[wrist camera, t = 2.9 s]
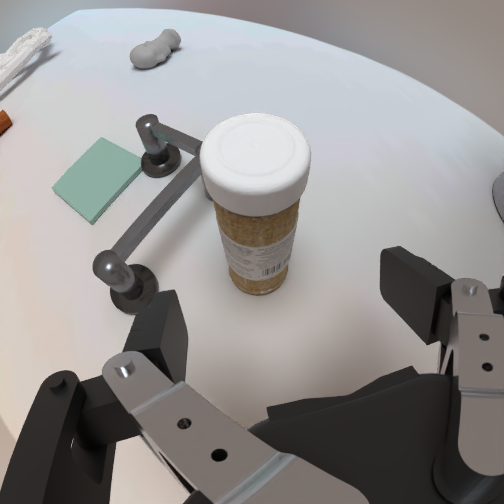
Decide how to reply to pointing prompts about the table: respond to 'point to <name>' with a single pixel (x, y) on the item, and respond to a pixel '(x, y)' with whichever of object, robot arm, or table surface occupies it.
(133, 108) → the table surface
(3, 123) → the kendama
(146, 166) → the grey jointed rod frame
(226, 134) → the sprinkles bottle
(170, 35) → the grey figurine
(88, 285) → the table surface
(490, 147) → the table surface
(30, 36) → the pretzel
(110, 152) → the pad
